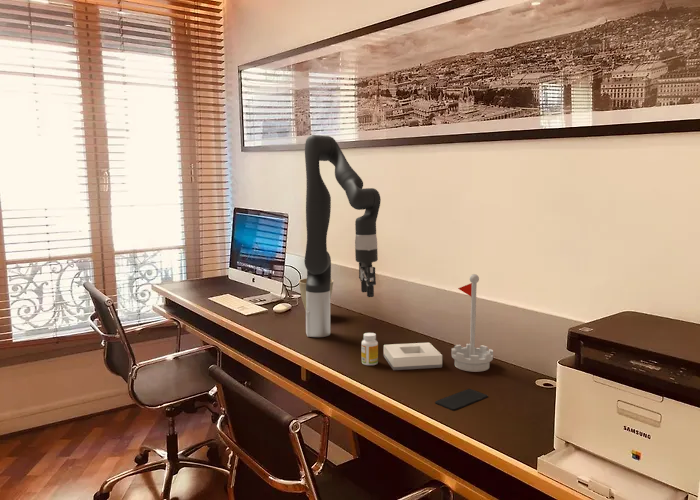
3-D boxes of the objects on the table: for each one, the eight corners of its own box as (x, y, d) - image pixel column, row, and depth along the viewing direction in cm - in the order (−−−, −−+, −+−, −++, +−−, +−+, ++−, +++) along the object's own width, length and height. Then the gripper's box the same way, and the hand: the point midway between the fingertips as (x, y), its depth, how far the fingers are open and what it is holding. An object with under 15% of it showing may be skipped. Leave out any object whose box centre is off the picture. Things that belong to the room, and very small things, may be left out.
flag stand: (497, 363, 186) (500, 272, 181) (486, 375, 174) (489, 279, 170) (458, 357, 192) (460, 269, 188) (445, 368, 180) (447, 275, 176)
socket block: (393, 370, 179) (393, 357, 178) (383, 356, 192) (383, 344, 192) (442, 367, 181) (442, 355, 181) (429, 353, 195) (429, 342, 194)
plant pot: (292, 316, 246) (291, 280, 244) (318, 310, 256) (318, 276, 254) (313, 323, 235) (313, 285, 233) (340, 317, 245) (340, 280, 243)
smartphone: (489, 395, 157) (453, 409, 148) (489, 398, 158) (453, 412, 148) (469, 388, 163) (433, 401, 153) (469, 390, 163) (433, 404, 153)
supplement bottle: (379, 361, 187) (380, 332, 186) (375, 366, 182) (375, 337, 181) (364, 359, 189) (364, 331, 188) (359, 364, 184) (359, 335, 183)
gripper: (351, 245, 198) (352, 291, 200) (360, 250, 185) (361, 299, 187) (371, 244, 200) (373, 290, 202) (382, 249, 186) (383, 297, 188)
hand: (367, 294), depth 194 cm, fingers open, 8 cm apart
